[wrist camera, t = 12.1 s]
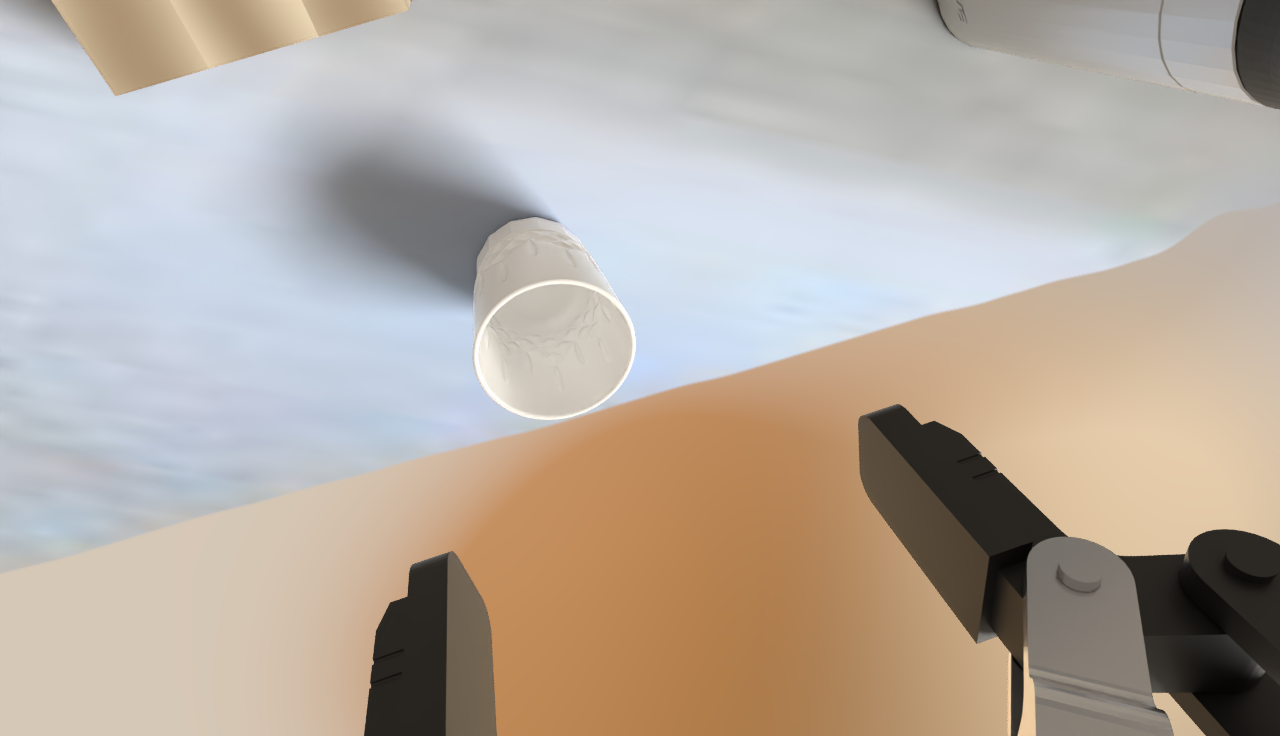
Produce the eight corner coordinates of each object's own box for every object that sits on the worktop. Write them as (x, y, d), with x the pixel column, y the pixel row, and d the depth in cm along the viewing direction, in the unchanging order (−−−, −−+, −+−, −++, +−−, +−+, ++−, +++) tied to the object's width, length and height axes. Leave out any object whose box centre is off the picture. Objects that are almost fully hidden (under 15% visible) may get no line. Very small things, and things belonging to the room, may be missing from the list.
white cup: (613, 225, 40) (658, 299, 32) (575, 337, 43) (606, 429, 35) (482, 190, 37) (495, 262, 29) (452, 313, 40) (456, 408, 32)
